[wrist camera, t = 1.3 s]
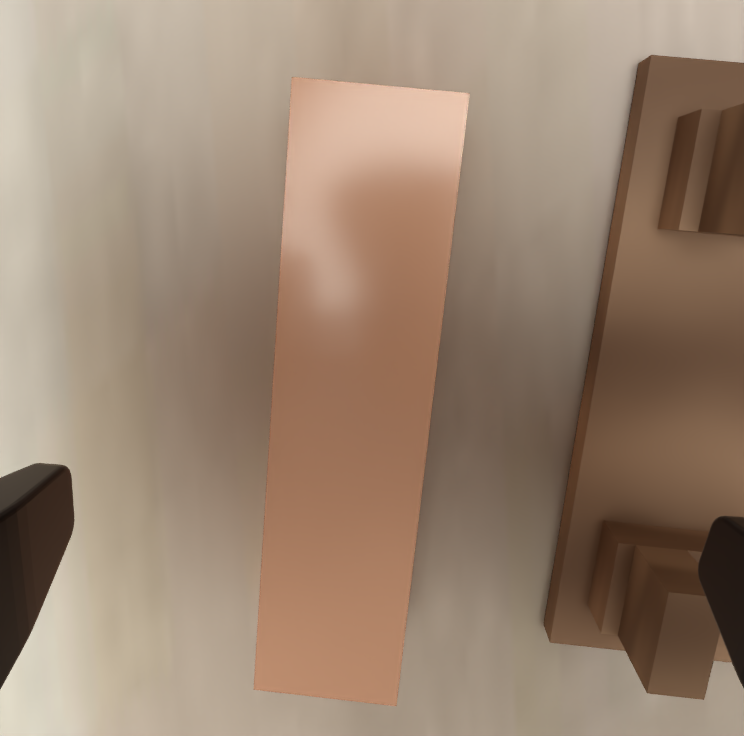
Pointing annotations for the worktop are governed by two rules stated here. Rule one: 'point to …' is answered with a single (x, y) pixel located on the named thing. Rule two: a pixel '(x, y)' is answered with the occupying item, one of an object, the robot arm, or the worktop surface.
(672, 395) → the drying rack
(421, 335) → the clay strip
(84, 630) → the worktop surface
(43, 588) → the robot arm
